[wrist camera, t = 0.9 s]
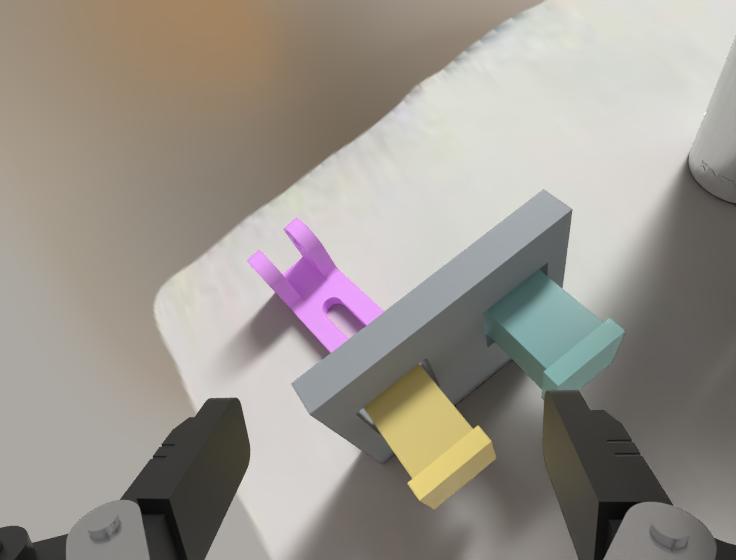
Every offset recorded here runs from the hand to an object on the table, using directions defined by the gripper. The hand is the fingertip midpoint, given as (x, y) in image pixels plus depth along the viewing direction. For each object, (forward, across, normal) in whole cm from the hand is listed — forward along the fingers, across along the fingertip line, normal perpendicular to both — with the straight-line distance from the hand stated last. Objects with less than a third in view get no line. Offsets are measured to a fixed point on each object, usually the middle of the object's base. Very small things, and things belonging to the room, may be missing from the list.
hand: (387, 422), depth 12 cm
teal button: (+17, -8, +7) cm, 20 cm away
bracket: (+28, +7, +9) cm, 30 cm away
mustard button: (+14, -1, +11) cm, 18 cm away
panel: (+22, -3, +12) cm, 25 cm away
